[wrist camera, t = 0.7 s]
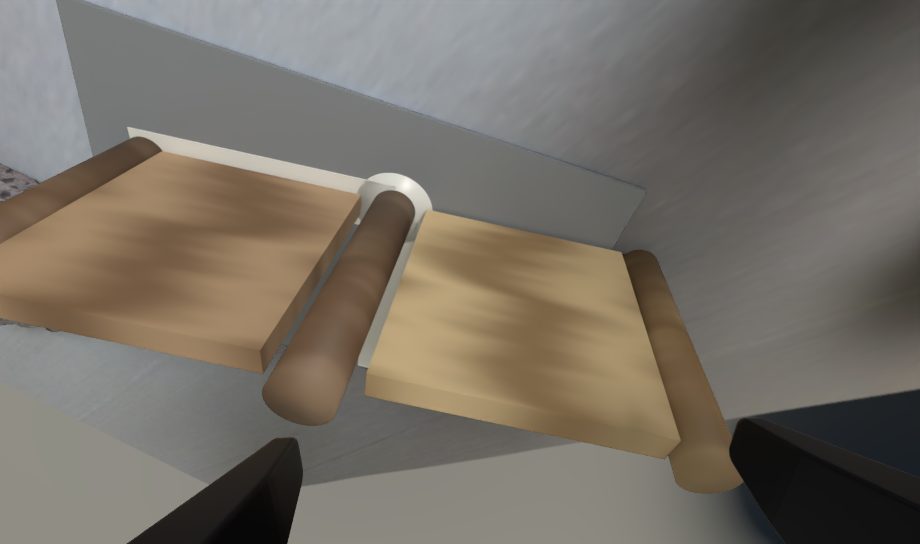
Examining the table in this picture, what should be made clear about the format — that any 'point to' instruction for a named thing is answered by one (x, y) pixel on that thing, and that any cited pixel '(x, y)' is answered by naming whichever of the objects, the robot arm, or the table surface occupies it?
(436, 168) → the card
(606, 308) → the swing panel
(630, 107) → the table surface
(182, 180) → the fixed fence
